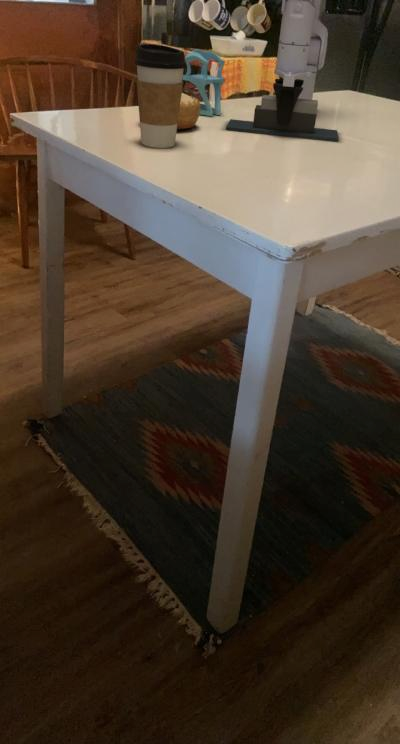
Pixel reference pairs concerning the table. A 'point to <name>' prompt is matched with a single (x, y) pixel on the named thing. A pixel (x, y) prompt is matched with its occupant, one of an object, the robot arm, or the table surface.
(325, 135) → the desk mat
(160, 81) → the coffee cup
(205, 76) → the chair
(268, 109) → the grey rectangular block
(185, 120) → the pastry
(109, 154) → the table surface
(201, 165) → the table surface
